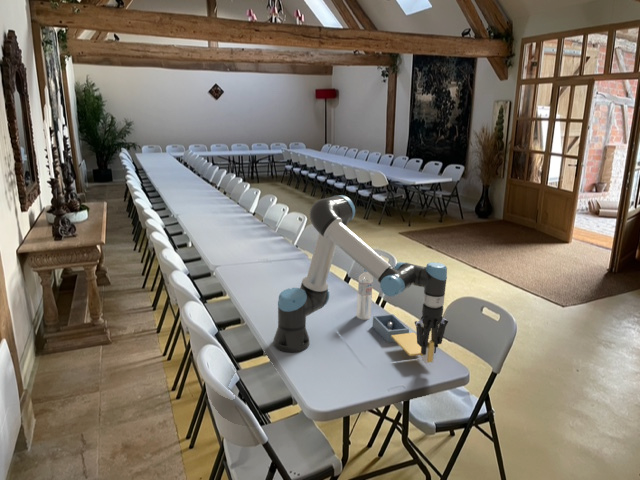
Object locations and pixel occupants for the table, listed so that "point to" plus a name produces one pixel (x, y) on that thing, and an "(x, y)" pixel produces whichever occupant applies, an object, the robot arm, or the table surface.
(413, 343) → the lid
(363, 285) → the water bottle
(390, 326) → the part
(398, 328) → the tub
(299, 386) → the table surface
